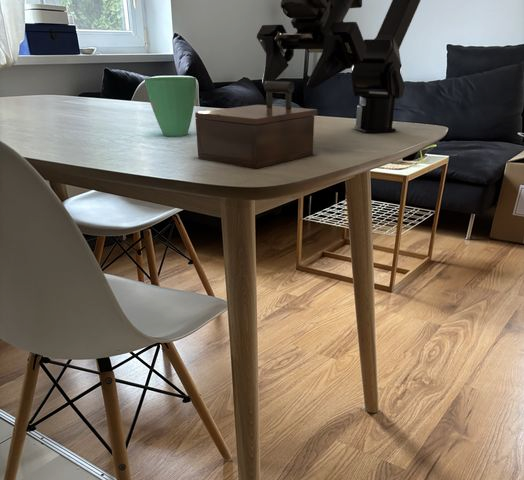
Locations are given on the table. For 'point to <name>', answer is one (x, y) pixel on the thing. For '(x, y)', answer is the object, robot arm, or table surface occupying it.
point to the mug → (172, 103)
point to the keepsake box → (255, 141)
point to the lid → (261, 108)
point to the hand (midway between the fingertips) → (285, 87)
